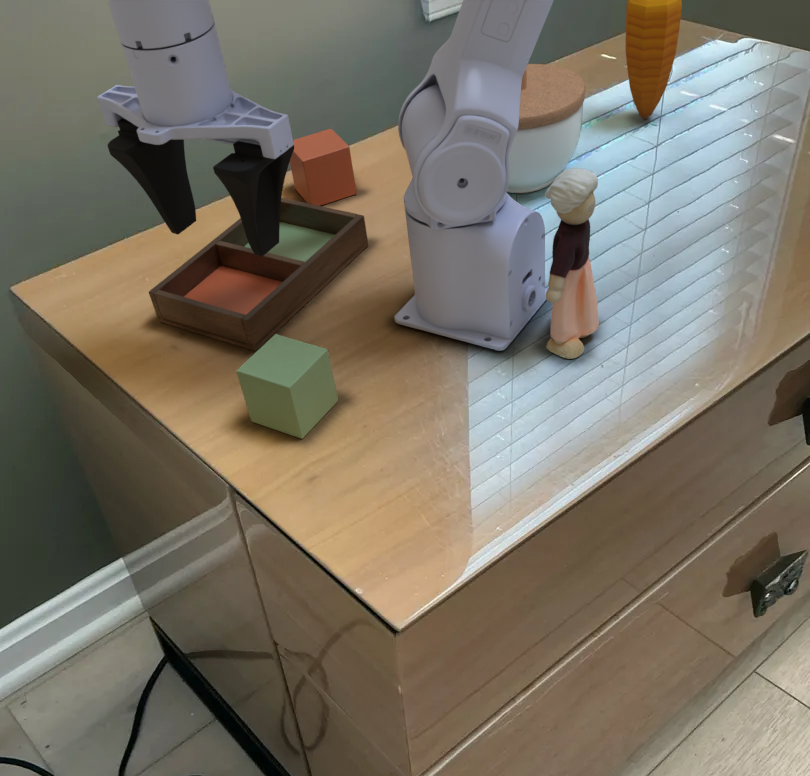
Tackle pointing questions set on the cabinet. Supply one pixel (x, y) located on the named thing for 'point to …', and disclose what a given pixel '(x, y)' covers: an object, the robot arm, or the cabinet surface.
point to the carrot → (650, 49)
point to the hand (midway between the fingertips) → (224, 237)
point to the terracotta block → (322, 168)
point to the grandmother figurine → (572, 263)
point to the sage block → (288, 385)
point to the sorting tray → (259, 275)
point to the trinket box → (545, 126)
